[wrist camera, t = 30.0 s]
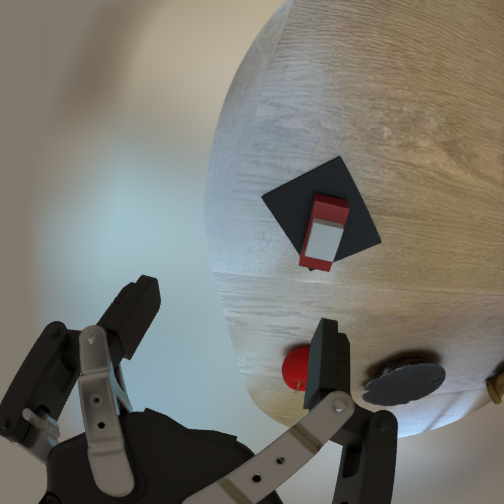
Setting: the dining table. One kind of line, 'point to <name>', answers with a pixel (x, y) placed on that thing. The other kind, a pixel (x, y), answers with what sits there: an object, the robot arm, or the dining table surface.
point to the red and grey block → (323, 232)
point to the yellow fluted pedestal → (496, 388)
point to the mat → (328, 184)
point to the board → (404, 382)
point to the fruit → (296, 368)
